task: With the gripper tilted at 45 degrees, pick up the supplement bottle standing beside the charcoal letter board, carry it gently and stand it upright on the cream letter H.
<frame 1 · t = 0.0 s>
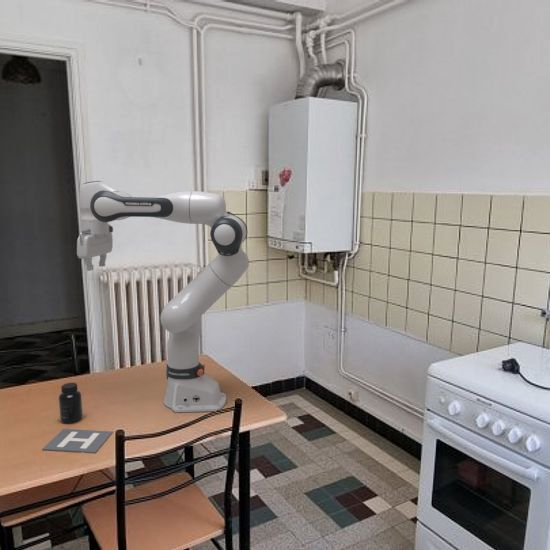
hand: (96, 268, 165), 48 cm above the table, tool pointing down, fingers open, 8 cm apart
letter board: (78, 441, 142), on the table
supplement bottle: (71, 420, 156), on the table
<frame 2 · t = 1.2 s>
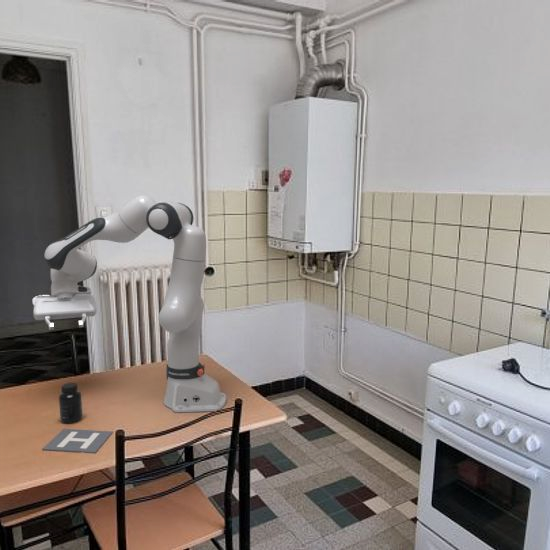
hand: (66, 327, 162), 28 cm above the table, tool tilted 45°, fingers open, 8 cm apart
nothing on the table moved.
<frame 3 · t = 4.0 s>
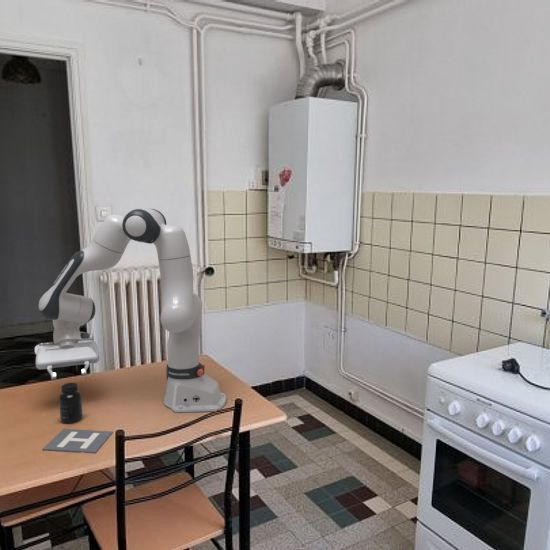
hand: (69, 376, 160), 12 cm above the table, tool tilted 45°, fingers open, 8 cm apart
nothing on the table moved.
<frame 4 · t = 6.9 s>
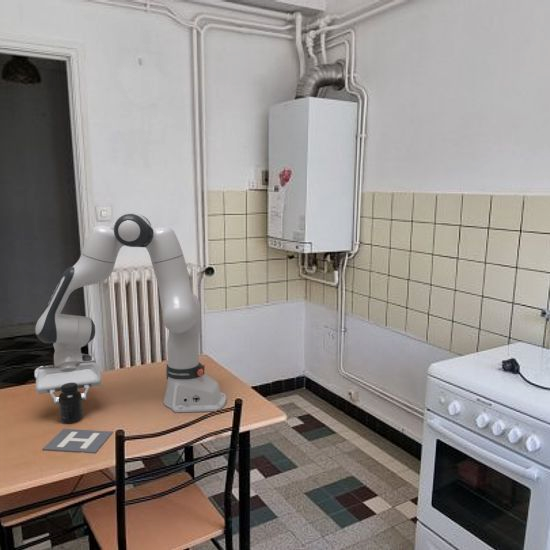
hand: (70, 401, 154), 7 cm above the table, tool tilted 45°, fingers closed on supplement bottle, 7 cm apart
supplement bottle: (71, 419, 156), on the table, touching gripper
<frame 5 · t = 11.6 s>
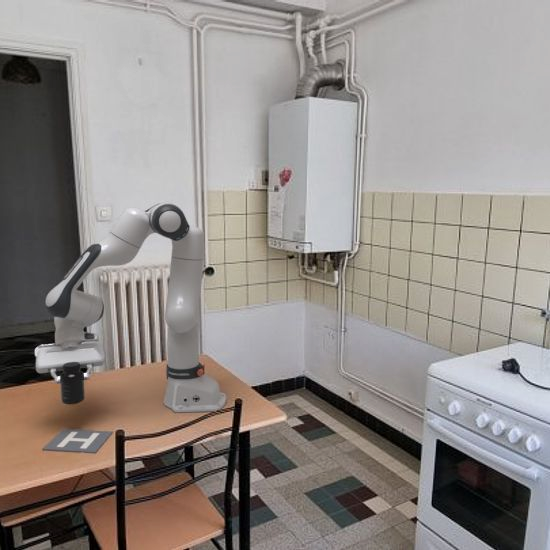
hand: (72, 381, 146), 16 cm above the table, tool tilted 45°, fingers closed on supplement bottle, 7 cm apart
supplement bottle: (73, 401, 148), point 9 cm above the table, touching gripper
when the fingers open (8 cm above the table, at t = 16.4 s): supplement bottle drops 1 cm, resting on letter board.
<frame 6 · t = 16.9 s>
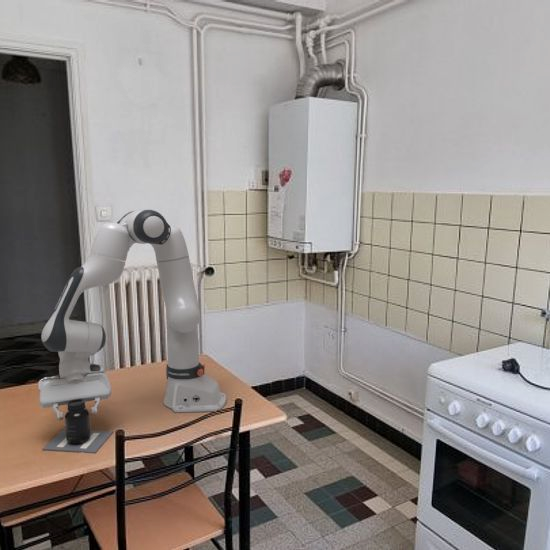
hand: (77, 416, 140), 8 cm above the table, tool tilted 45°, fingers open, 8 cm apart
supplement bottle: (78, 440, 142), resting on letter board
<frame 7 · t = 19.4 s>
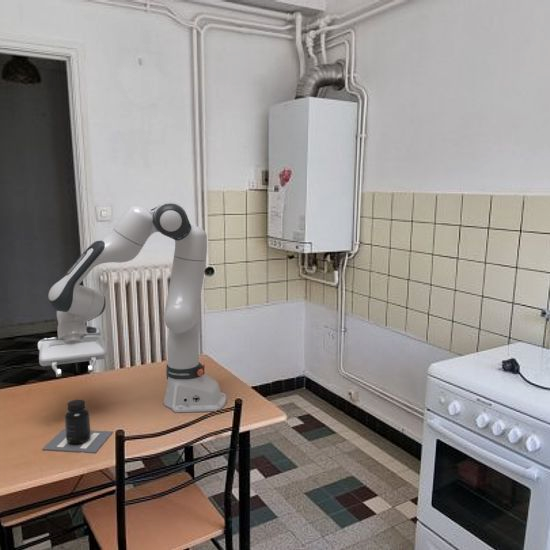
hand: (75, 373, 149), 17 cm above the table, tool tilted 45°, fingers open, 8 cm apart
nothing on the table moved.
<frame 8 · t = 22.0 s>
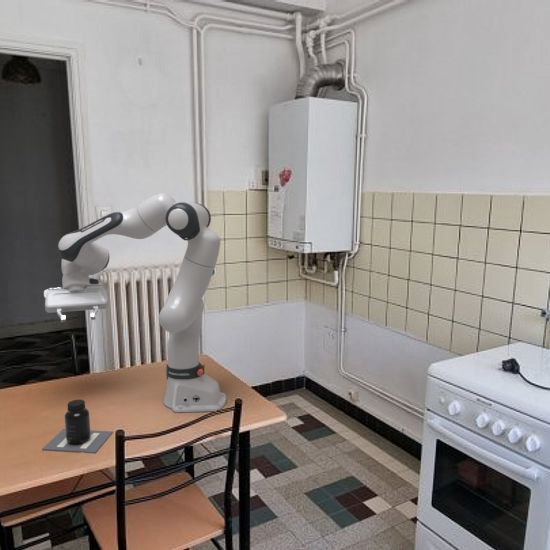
hand: (78, 320, 160), 31 cm above the table, tool tilted 45°, fingers open, 8 cm apart
nothing on the table moved.
at the end: supplement bottle inside the target area on the letter board (0.1 cm from its centre), point 0.2 cm above the letter board's base; supplement bottle tilted 0°; the gripper is holding nothing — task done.
